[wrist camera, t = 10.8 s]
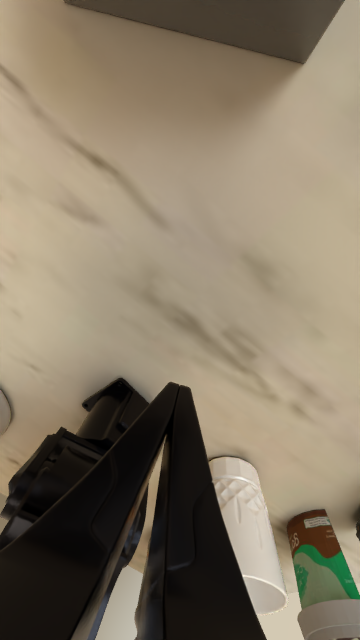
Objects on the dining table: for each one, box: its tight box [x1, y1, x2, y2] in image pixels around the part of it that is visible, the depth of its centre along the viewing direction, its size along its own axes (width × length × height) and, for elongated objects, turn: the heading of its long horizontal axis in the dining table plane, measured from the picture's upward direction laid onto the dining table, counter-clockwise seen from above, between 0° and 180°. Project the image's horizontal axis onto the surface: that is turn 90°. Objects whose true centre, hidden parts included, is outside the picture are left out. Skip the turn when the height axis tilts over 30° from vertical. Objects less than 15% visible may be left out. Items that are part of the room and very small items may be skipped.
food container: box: [287, 510, 360, 640], centre depth 27 cm, size 12×6×10 cm, turn 16°
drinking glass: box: [209, 457, 288, 615], centre depth 24 cm, size 8×8×10 cm
